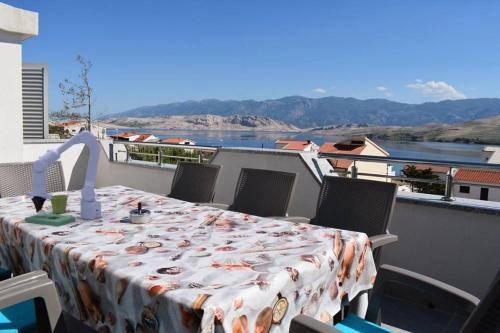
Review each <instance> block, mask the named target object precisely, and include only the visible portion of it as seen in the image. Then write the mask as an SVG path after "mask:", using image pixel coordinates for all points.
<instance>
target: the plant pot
mask: <svg viewBox="0 0 500 333" xmlns="http://www.w3.org/2000/svg"><path fill="white" fill-rule="evenodd" d="M68 199H69V195H68V194H56V195H52V199H49V201H50V203H51V204H50V205H51V209H52V214H64V213H65V212H67V204H68V203H67V202H68Z"/></svg>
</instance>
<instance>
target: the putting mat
mask: <svg viewBox="0 0 500 333" xmlns="http://www.w3.org/2000/svg"><path fill="white" fill-rule="evenodd" d="M25 221H27V222H26V223H29V222H33V223H32V224H36V223H40V224H39V225H44V224H45V225H44V226H52V227H60V226H64V225H67V224H70V223H74V222H76V216H70V215H63V214H62V215H61V214H56V213H47V212H46V215H45V216H43V217H40V216H39V215H38V214H35V215H30V216H27V217H24V222H25Z"/></svg>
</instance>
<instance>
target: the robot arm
mask: <svg viewBox="0 0 500 333" xmlns="http://www.w3.org/2000/svg"><path fill="white" fill-rule="evenodd" d="M81 143H82V144H84V145H85V146H87V148H88V149H89V156H88V162H87V163H88V164H87V169H86V175H85V180H84V183H83V184H84V185H83V186H82V188H81V191H80V194H81V198H80V215H78V216H76V218H77V219H83V220H84V219H85V220H96V219H99V218H102V217H103V215H102V204H101V202H100V201H99V200H97V199H96V192H95V184H96V183H95V182H96V178H97V177H96V176H97V172H98V164H99V159H100V153H101V146H100V144H99V142H98V140H97V138H96V136H95V135H94V134H93V133H92V132H91V131H89V130H87V129H86V130H85V129H84V130H82V131H80V132H79V133H76V134H75V135H72V136H71V137H70V138H69V139H68V140H66V141H65V142H63V143H62V144H61V145H60V146H58V147H57V148H51V149H48V150H46V153H44V154H43V155H42V156H39V157H38V159H36V160H34V162H32V169H33V171H32V191H30V190H29V191H26V192H25V196H26V197H31V199H30V200H31V201H32V203H33V204H34V209H35V212H36V213H38V211H39V210H43V207H44V204H45V202H46V201H47V199H48V200H50V199H52V196H53V194H50V193H48V192H46V191H47V174H46V173H47V170H46V169H47V168H48V167H51V165H53V164H55V162H57V161H58V160H59V159H61V154H63V153H64V152H66V151H67V150H69V149H70V148H72V147H73V146H74V145H80V144H81Z"/></svg>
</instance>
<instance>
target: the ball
mask: <svg viewBox="0 0 500 333" xmlns="http://www.w3.org/2000/svg"><path fill="white" fill-rule="evenodd" d="M46 213H47V211H46V210H45V209H42V210H39V211H38V212H37V215H39V216H40V217H43V216H45V215H46Z"/></svg>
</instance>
